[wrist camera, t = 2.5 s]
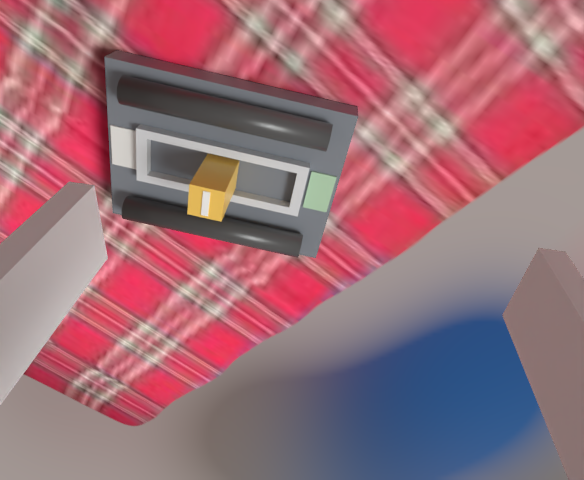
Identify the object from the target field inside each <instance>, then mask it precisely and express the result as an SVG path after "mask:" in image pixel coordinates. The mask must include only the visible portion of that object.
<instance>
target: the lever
mask: <svg viewBox="0 0 584 480" xmlns="http://www.w3.org/2000/svg"><path fill="white" fill-rule="evenodd" d="M238 168H239V160H235V159H231V158H226V157H222V156H217V155H213V154H209V153H208V154H207V156H206V157H205V159H204V161H203V162H202V164H201V166H200V167H199V169H198V171H197V172H196V174H195V176H194V177H193V179H192V180H191V182H190V184H189V195H188V210H187V214H189V215H193V216H198V217H202V218H207V219H211V220H216V221H220V222H222V219H223V217H224V214H225V212H226V210H227V207H228V205H229V203H230V200H231V198H232V195H233V193H234V191H235V188H236V182H237V175H238Z"/></svg>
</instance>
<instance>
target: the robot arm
mask: <svg viewBox="0 0 584 480" xmlns="http://www.w3.org/2000/svg"><path fill="white" fill-rule="evenodd" d="M107 258H108V257H107V252H106V246H105V241H104V235H103V230H102V224H101V219H100V214H99V208H98V203H97V197H96V192H95V187H94V185H89V184H82V183H75V182H68V183H67V184H66V185H65V186H64V187H63V188H62V189H60V190H59V191H58V192H57V193H56V194H55V195H54V196H53V197H52V198H50V199H49V200H48V201H47V202H46V203H45V204H44V205H43V206H42V207H41V208H39V209H38V210H37V211H36V212H35V213H34V214H33V215H32V216H31V217H29V218H28V219H27V220H26V221H25V222H24V223H23V224H22V225H21V226H20V227H18V228H17V229H16V230H15V231H14V232H13V233H12V234H11V235H10V236H8V237H7V238H6V239H5V240H4V241H3V242H2V243H1V244H0V405H1V403H2V402H3V401H4V399H5V398H6V397H7V395H8V394H9V393H10V391H11V390H12V388H13V387H14V386H15V384H16V383H17V382H18V380H19V379H20V378H21V376H22V375H23V373H24V372H25V371H26V369H27V368H28V367H29V365H30V364H31V362H32V361H33V360H34V358H35V357H36V356H37V354H38V353H39V352H40V350H41V349H42V347H43V346H44V345H45V343H46V342H47V341H48V339H49V338H50V336H51V335H52V334H53V332H54V331H55V330H56V328H57V327H58V325H59V324H60V323H61V321H62V320H63V319H64V317H65V316H66V315H67V313H68V312H69V310H70V309H71V308H72V306H73V305H74V304H75V302H76V301H77V299H78V298H79V297H80V295H81V294H82V293H83V291H84V290H85V288H86V287H87V286H88V284H89V283H90V282H91V280H92V279H93V278H94V276H95V275H96V273H97V272H98V271H99V269H100V268H101V267H102V265H103V264H104V262H105V261H106V260H107ZM503 318H504V320H505V323H506V325H507V328H508V330H509V333H510V335H511V338H512V340H513V343H514V345H515V347H516V350H517V353H518V355H519V358H520V360H521V362H522V365H523V368H524V370H525V373H526V375H527V377H528V380H529V382H530V385H531V387H532V390H533V392H534V395H535V397H536V400H537V402H538V405H539V407H540V410H541V412H542V415H543V417H544V419H545V422H546V424H547V427H548V429H549V432H550V434H551V437H552V439H553V442H554V444H555V447H556V449H557V452H558V454H559V457H560V459H561V462H562V464H563V467H564V469H565V471H566V474H567V477H568V479H569V480H584V279H583V277H582V276H581V274H580V273H579V271H578V270H577V268H576V267H575V265H574V264H573V262H572V261H571V259H570V258H569V256H568V255H567V254H566V252H564V251H557V250H550V249H543V248H538V250H537V252H536V254H535V256H534V258H533V260H532V261H531V263H530V265H529V267H528V269H527V271H526V272H525V274H524V276H523V278H522V280H521V282H520V284H519V285H518V287H517V289H516V291H515V293H514V295H513V297H512V299H511V300H510V302H509V304H508V306H507V308H506V310H505V311H504V313H503Z"/></svg>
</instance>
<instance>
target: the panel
mask: <svg viewBox="0 0 584 480" xmlns="http://www.w3.org/2000/svg"><path fill="white" fill-rule="evenodd" d="M104 58H105V77H106V95H107V114H108V133H109V151H110V170H111V188H112V207H113V213H116V214H120V215H122V218H123V219H127V220H131V221H136V222H140V223H145V224H149V225H154V226H158V227H163V228H167V229H172V230H176V231H181V232H185V233H190V234H194V235H199V236H203V237H208V238H212V239H217V240H221V241H226V242H230V243H235V244H239V245H244V246H248V247H253V248H257V249H262V250H266V251H271V252H275V253H280V254H284V255H289V256H293V257H298V256H299V254H300V255H305V256H309V257H314V258H316V255H317V252H318V248H319V245H320V242H321V238H322V235H323V232H324V228H325V225H326V222H327V218H328V215H329V212H330V208H331V205H332V202H333V198H334V195H335V192H336V188H337V185H338V182H339V178H340V175H341V172H342V168H343V165H344V162H345V158H346V155H347V152H348V148H349V145H350V142H351V138H352V135H353V132H354V128H355V125H356V122H357V118H358V107H357V106H353V105H348V104H344V103H340V102H336V101H331V100H327V99H323V98H319V97H314V96H310V95H306V94H302V93H297V92H293V91H289V90H285V89H280V88H276V87H272V86H268V85H263V84H259V83H255V82H251V81H247V80H242V79H238V78H234V77H230V76H225V75H221V74H217V73H213V72H208V71H204V70H200V69H196V68H191V67H187V66H183V65H179V64H174V63H170V62H166V61H162V60H157V59H153V58H149V57H145V56H140V55H136V54H132V53H128V52H123V51H119V50H116V51H114V52H112V53H111V54H109V55H107V56H105V57H104ZM208 153H209V154H213V155H217V156H222V157H226V158H231V159H235V160H239V168H238V175H237V182H236V188H235V191H234V193H233V195H232V198H231V200H230V203H229V205H228V207H227V210H226V212H225V214H224V217H223V219H222V222H220V221H216V220H211V219H207V218H202V217H198V216H193V215H189V214H187V210H188V195H189V184H190V182H191V180H192V179H193V177H194V176H195V174H196V172H197V171H198V169H199V167H200V166H201V164H202V162H203V161H204V159H205V157H206V156H207V154H208Z"/></svg>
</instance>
